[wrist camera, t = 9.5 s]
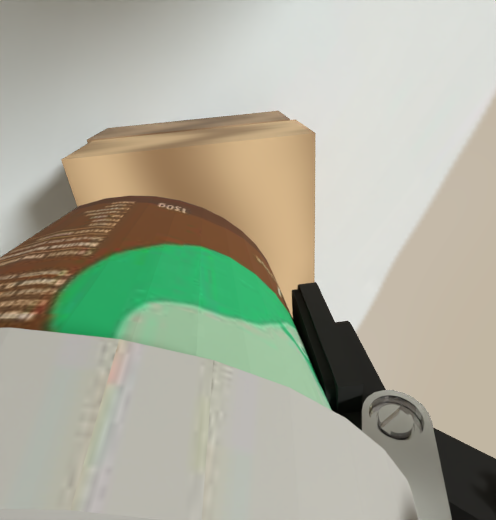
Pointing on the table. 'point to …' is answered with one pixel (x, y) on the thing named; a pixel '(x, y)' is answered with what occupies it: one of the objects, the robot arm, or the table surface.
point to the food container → (168, 381)
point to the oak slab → (219, 183)
